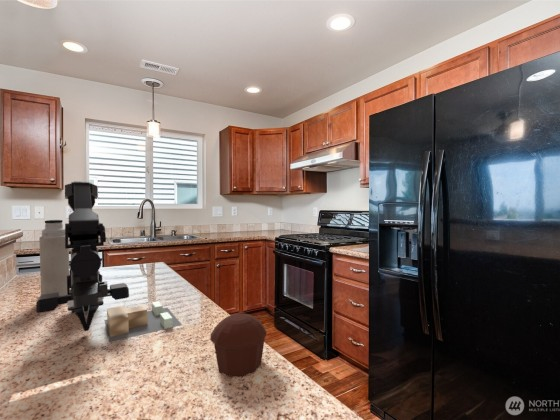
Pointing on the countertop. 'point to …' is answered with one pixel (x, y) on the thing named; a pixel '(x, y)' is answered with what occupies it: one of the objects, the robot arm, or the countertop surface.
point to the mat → (144, 326)
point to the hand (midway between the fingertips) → (86, 330)
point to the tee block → (125, 319)
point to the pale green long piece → (162, 315)
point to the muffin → (238, 344)
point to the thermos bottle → (53, 258)
